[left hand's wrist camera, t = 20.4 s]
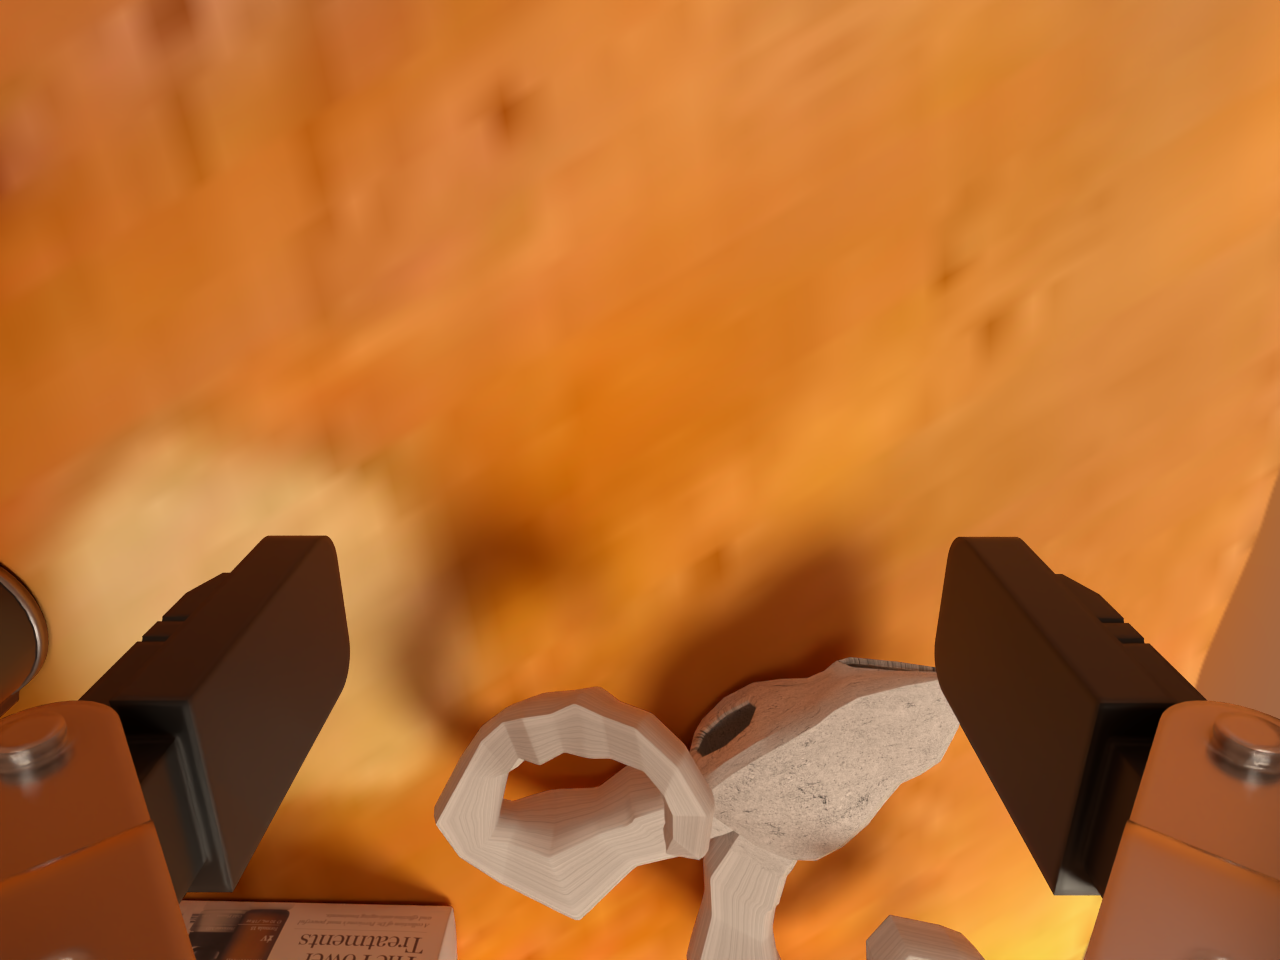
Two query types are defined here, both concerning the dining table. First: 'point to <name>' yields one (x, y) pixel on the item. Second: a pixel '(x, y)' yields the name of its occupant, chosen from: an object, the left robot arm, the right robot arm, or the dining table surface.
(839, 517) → the dining table surface
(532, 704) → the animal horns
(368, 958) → the skincare box
